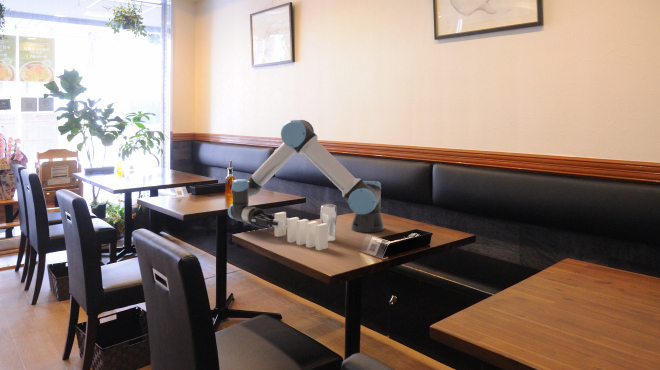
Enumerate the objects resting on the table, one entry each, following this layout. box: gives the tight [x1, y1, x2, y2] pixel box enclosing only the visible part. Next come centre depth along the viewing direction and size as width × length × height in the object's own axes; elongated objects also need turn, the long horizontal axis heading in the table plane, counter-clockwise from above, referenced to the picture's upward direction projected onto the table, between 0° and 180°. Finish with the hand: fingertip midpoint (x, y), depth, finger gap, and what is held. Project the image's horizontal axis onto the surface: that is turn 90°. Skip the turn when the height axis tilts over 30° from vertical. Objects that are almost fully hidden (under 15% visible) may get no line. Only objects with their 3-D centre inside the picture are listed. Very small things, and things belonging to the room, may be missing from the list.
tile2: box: [286, 216, 300, 244], centre depth 207 cm, size 2×5×10 cm, turn 138°
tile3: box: [295, 218, 309, 246], centre depth 203 cm, size 2×5×10 cm, turn 139°
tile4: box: [305, 220, 319, 248], centre depth 200 cm, size 2×5×10 cm, turn 138°
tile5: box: [315, 223, 329, 251], centre depth 196 cm, size 2×5×10 cm, turn 138°
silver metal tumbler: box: [320, 203, 338, 243], centre depth 209 cm, size 7×7×15 cm
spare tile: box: [273, 211, 287, 238], centre depth 212 cm, size 2×5×10 cm, turn 138°
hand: (288, 223), depth 208 cm, fingers closed on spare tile, 5 cm apart
